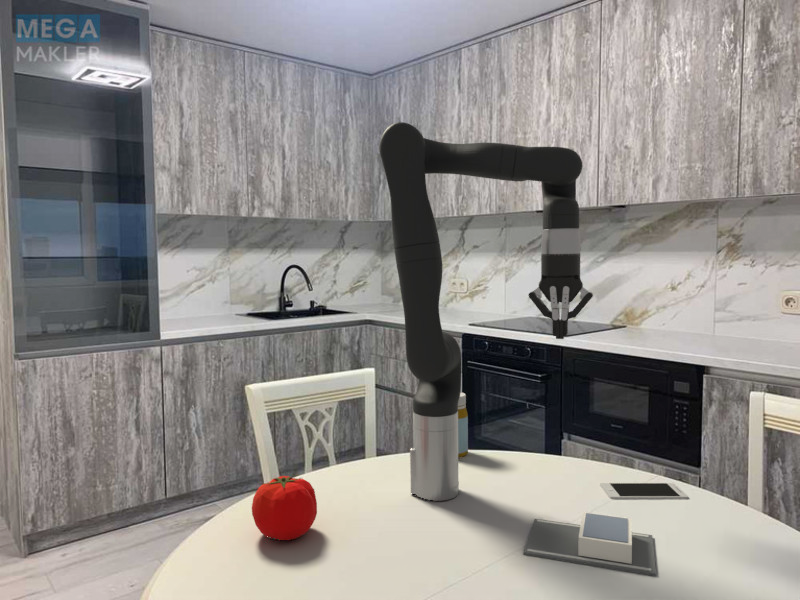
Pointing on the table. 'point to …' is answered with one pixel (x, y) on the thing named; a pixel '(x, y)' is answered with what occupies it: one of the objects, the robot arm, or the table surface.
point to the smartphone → (643, 491)
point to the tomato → (284, 508)
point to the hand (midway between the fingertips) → (560, 338)
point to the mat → (563, 546)
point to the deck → (605, 537)
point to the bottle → (462, 426)
